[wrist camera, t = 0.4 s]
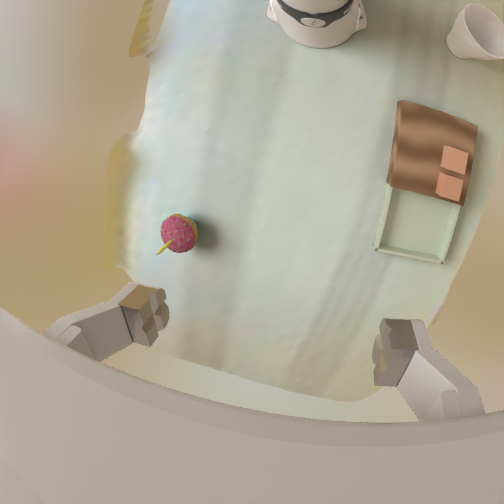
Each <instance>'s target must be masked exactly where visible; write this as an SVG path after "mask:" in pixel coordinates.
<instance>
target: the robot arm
mask: <svg viewBox="0 0 504 504" xmlns="http://www.w3.org/2000/svg"><path fill="white" fill-rule="evenodd" d="M267 16H268V18H269V19H271V20H272V21H274V22H276V23H277V24H279V25H280V26H281V27H282V29H283V30H284V32H285V33H286V34H287V35H288V36H289V37H290V38H292V39H293V40H294V41H296V42H298V43H300V44H302V45H305V46H309V47H314V48H329V47H333V46H337V45H339V44H341V43H343V42H344V41H346V40H347V39H348V38H349V37H350V36H351V35H352V34H353V33H355V32H357V31H360V30H363V29H365V28H366V27H367V19H366V15H365V11H364V7H363V3H362V0H270V5H269V8H268V11H267ZM360 17H361V18H362V19H359V18H360ZM165 299H166V294H165V290H163V289H162V288H158V287H154V286H149V285H145V284H140V283H135V282H130V283H128V284H127V285H126V286H125V287H124V288H123V289H122V290H121V291H120V292H118V293H117V294H116V295H115V296H114V297H113V298H112V299H111V300H110V301H109V302H102V303H100V304H97V305H95V306H91V307H89V308H86V309H83V310H80V311H77V312H75V313H72V314H69V315H66V316H63V317H61V318H59V319H58V320H57V321H55V322H54V323H53V324H52V325H51V326H50V327H49V328H48V329H47V330H46V331H45V332H44V333H41V332H40V331H38V330H36V329H34V328H33V327H31V326H29V325H28V324H26V323H24V322H23V321H21V320H19V319H18V318H16V317H14V316H13V315H12V314H10V313H9V312H7V311H6V310H4V309H3V308H1V307H0V504H504V410H502V411H497V412H492V413H487V414H485V411H484V407H483V404H482V400H481V397H480V394H479V391H478V388H477V387H476V386H475V385H474V384H473V383H472V382H471V381H470V380H469V379H468V378H466V377H465V376H464V375H463V374H462V373H461V372H460V371H459V370H458V369H457V368H456V367H454V366H453V365H452V364H451V363H450V362H449V361H448V360H447V359H445V358H444V357H443V356H442V355H441V354H440V353H439V352H438V351H433V349H432V346H431V343H430V340H429V337H428V334H427V331H426V328H425V325H424V322H423V321H422V320H415V319H409V320H404V319H389V318H383V319H382V321H381V324H380V327H379V328H380V334H379V335H377V336H376V338H375V342H374V346H373V353H372V358H373V362H374V364H375V365H376V366H375V369H374V383H375V385H377V386H395V387H397V389H398V391H399V392H400V393H401V395H402V396H403V397H404V399H405V400H406V402H407V403H408V405H409V406H410V407H411V409H412V411H413V412H414V413H415V415H416V416H417V418H418V419H419V420H420V421H419V422H403V423H402V422H401V423H367V422H345V421H330V420H319V419H309V418H301V417H294V416H287V415H280V414H273V413H267V412H262V411H257V410H251V409H246V408H242V407H237V406H232V405H228V404H224V403H220V402H215V401H211V400H208V399H204V398H200V397H196V396H193V395H189V394H186V393H183V392H180V391H176V390H173V389H170V388H167V387H163V386H161V385H158V384H155V383H152V382H149V381H146V380H143V379H141V378H138V377H136V376H133V375H130V374H128V373H125V372H123V371H120V370H118V369H115V368H113V367H110V366H108V365H106V364H103V363H101V361H102V360H104V359H106V358H108V357H109V356H111V355H113V354H115V353H116V352H118V351H120V350H122V349H123V348H125V347H127V346H129V345H130V344H132V343H133V342H135V343H138V344H142V345H146V346H149V347H151V345H152V344H153V343H154V341H155V340H156V339H157V337H158V331H161V330H163V329H164V328H165V327H166V325H167V323H168V320H169V308H168V306H167V305H166V303H165V302H164V301H165Z"/></svg>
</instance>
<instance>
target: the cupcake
mask: <svg viewBox="0 0 504 504" xmlns="http://www.w3.org/2000/svg"><path fill="white" fill-rule="evenodd" d="M161 236H162V239H163V242H164V244H165V245H164V246H163V247H162V248H161V249H160V250H159V251H158V253H157V254H156V255H158V254H160V253H161V252H162V251H163V250H165V249H166V248H167V247H168V248H169V249H170V250H171V251H174V252H177V253H182V252H187V251H189V250H191V249H192V248H193V247H194V246H195V244H196V243H197V240H198V230H197V225H196V223H195V221H194V220H193V219H191V218H188V217H185V216H182V215H181V214H174V215H171V216H170V217H168V218H166V220H165V221H164V222H163V224H162V227H161Z"/></svg>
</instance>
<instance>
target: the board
mask: <svg viewBox="0 0 504 504" xmlns="http://www.w3.org/2000/svg"><path fill="white" fill-rule="evenodd" d="M476 134H477V126H476V125H474V124H472V123H469V122H467V121H465V120H462V119H459V118H457V117H454V116H452V115H449V114H446V113H443V112H441V111H438V110H435V109H432V108H429V107H426V106H422V105H419V104H416V103H412V102H409V101H405V100H401V101H398V102H397V113H396V122H395V131H394V139H393V146H392V153H391V159H390V165H389V171H388V177H387V182H386V183H387V184H389V185H390V186H391V187H394V188H398V189H402V190H406V191H410V192H414V193H418V194H422V195H426V196H430V197H434V198H437V199H441V200H444V201H448V202H451V203H455V204H458V205H461V206H463V205H464V201H465V197H466V192H467V188H468V183H469V178H470V173H471V168H472V162H473V156H474V150H475V142H476ZM444 145H445V146H449V147H453V148H456V149H458V150H461V151H464V152H466V153H468V159H467V165H466V171H465V175H463V174H461V173H458V172H455V171H452V170H448V169H446V168H443V167H441V161H442V155H443V148H444ZM439 172H442V173H446V174H449V175H452V176H455V177H458V178H460V179H462V180H464V181H463V186H462V190H461V195H460V199H459V202H458V201H455V200H451V199H448V198H444V197H441V196H440V195H438V194H437V193H435V192H436V187H437V182H438V177H439Z"/></svg>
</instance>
